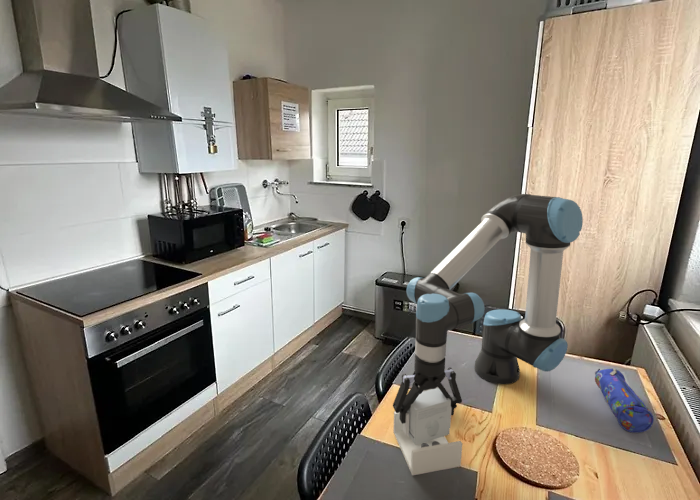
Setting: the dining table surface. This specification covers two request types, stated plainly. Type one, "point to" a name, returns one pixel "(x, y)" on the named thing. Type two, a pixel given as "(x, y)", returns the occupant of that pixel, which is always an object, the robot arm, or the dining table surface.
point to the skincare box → (429, 416)
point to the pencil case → (623, 401)
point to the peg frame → (427, 451)
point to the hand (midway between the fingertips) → (426, 428)
